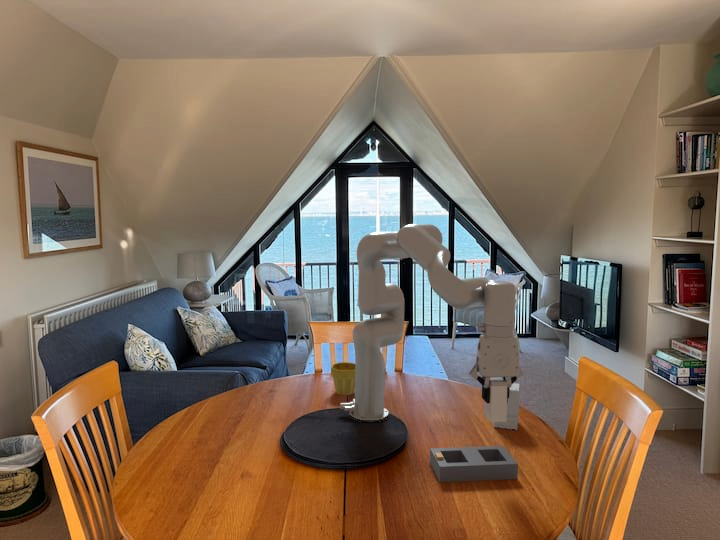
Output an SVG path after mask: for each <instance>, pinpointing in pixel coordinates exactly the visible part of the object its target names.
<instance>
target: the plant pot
mask: <svg viewBox="0 0 720 540" xmlns="http://www.w3.org/2000/svg"><path fill="white" fill-rule="evenodd" d="M330 375H331V376H332V379H333V385H334V388H335V393H336V394H338V395H340V396H350V395H353V394H355V363H354V362H349V361H348V362H347V361H344V362H343V361H342V362H341V361H340V362H335V363H333V364H331V367H330Z"/></svg>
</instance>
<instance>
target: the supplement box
mask: <svg viewBox="0 0 720 540" xmlns="http://www.w3.org/2000/svg"><path fill="white" fill-rule="evenodd" d="M519 411H520V383H516V382H514V383H513V384H512V386H511V387H510V391H509V398H508V402H507V421H506V422H493V428H498V427H499V429H505V428H506V430H512V429H515V430H514V431H518V428H519V427H518V426H519V414H520V413H519Z"/></svg>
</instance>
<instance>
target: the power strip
mask: <svg viewBox="0 0 720 540" xmlns="http://www.w3.org/2000/svg"><path fill="white" fill-rule="evenodd" d="M429 464H430V466H431V468H432V470H433V472H434V474H435V476H436V478H437V480H438V482H439V483H449V482H450V483H451V482H474V481H475V482H476V481H478V482H479V481H501V480H502V481H503V480H518V475H519V474H518V473H519V463H518V462H517V461H516V459H515V457H513V455H511V453H509V451H508V450H507V448H506V447H505V446H504V445H496V446H494V445H493V446H491V445H489V446H465V447H464V446H463V447H462V446H461V447H459V446H458V447H457V446H456V447H433V448H432V447H431V448H430V449H429Z"/></svg>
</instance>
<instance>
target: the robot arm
mask: <svg viewBox="0 0 720 540" xmlns="http://www.w3.org/2000/svg"><path fill="white" fill-rule="evenodd" d="M408 258H410V259H412V260H413V261H414V262H415V263H416V264H417V265H418V266H420V267H421V269H423V270H424V271H425V272H426V273H427V280H428V283H429V285H430V287H431V289H432V290H433V292H434V293H436V295H437V296H438V297H440V298H441V299H442V301H444V302H445V303H446V304H448V305H449V306H451V307H452V308H455V309H457V310H465V309H470V308H476V307H483V317H482V318H483V321H482V325H481V326H477V332H481V334H480V335H479V340H478V343H477V346H476V347H477V348H476V356H475V364H474V365H473V367H472V369H470V371H469V373H468V375H469V376H470V377H472V378H473V379H474V380H475V381H477V382H478V383H479V384H480V385H481V399H482V400H483V401H485V402H486V403H490V388H489V382H490V378H491V377H501V378H502V379H504V380H505V381H507V402H508V398H509V391H510V387H511V386H512V384H513V383H516V381H517V380H518V379H519V378H521V377H522V376H524V372H523V369H521V365H520V349H519V341H518V337H517V336H516V335H514V334H515V313H516V312H515V311H516V293H517V292H516V291H517V289H516V285H515V284H514V283H513V282H509V281H504V280H493V279H491V278H487V277H483V276H481V277H479V276H478V277H469V278H461V279H460V278H459V277H457V276H456V275H455V274H454V273H453V272H451V271H450V270H449V269H448V267H447V265H448V264H449V262H450V260H451V251H450V250H449V249H448V247H446V246H444V245H443V234H442V232H441V230H440V229H439V228H438V227H437V226H436V225H433V224H432V223H410V224H406V225H404V226H402V227H401V228H400V229H399V230H398V231H378V232H377V231H376V232H370V233H368V234H366V235H365V236H363V237H362V238H361V239H360V240H359V242H358V244H357V248H356V260H357V266H358V282H357V283H358V285H357V287H358V289H357V290H358V291H357V292H358V295H357V296H358V297H357V299H358V300H357V302H358V306H357V307H358V309H359V311H360V313H361V314H363V315H365V316H376V315H377V316H378V315H381V316H379V317H373V318H368V319H363V320H361V321H359V322H357V323H356V324H355V326H354V327H353V330H352V340H353V346H354V357H355V358H354V360H355V361H354V362H355V390H354V398H352V401H350V402H340V403H339V406H340V410H344V412H349V416H350V415H351V416H352V417H354V418H356V419H360V420H379V419H383V418H385V417H387V416H388V415H390V414H389V413H390V412H389V410H388V409H387V408H385V378H386V376H385V374H386V361H385V357H384V356H383V353H382V351H381V348H384V347H388V346H393V345H396V344H398V343H399V342H400V341H401V340H402V338H403V337H404V336H403V335H404V328H405V327H404V325H405V297H404V295H405V294H404V292H403V290H402V289H401V288H400V286H398V285H397V284H395V283H392V282H391V283H387V282H386V277H387V275H386V274H387V273H386V269H385V266H384V264H383V263H382V261H383V260H385V261H386V260H396V259H397V260H399V259H400V260H401V259H408ZM478 373H479V374H478ZM351 416H350V417H351ZM352 417H351V418H352ZM388 417H389V416H388Z"/></svg>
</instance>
